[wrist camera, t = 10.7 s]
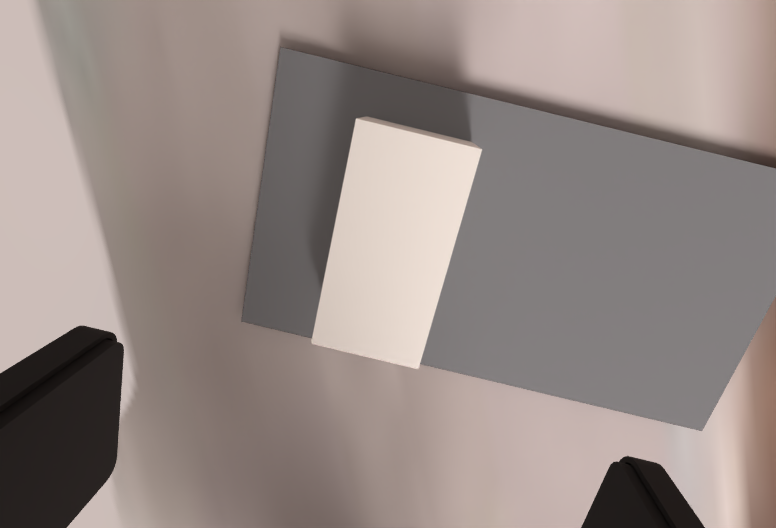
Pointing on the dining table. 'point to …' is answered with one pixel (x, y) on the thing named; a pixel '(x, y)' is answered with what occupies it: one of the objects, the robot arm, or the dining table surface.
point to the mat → (536, 243)
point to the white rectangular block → (393, 240)
